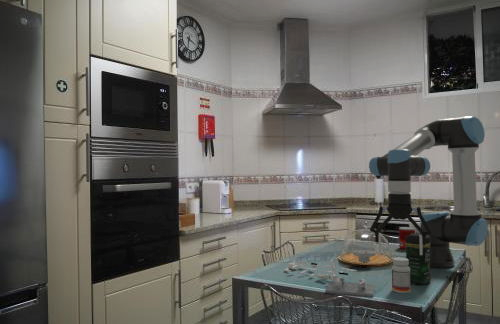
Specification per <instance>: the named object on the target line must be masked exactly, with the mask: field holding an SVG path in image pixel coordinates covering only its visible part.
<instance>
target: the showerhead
mask: <svg viewBox="0 0 500 324" xmlns="http://www.w3.org/2000/svg"><path fill="white" fill-rule="evenodd" d="M352 254H353V256H356V257H358V262H360V263H362V262H363V263H367V264H368V263H370V260H371V259H370V258H372V257H374V256H376V252H375V251H374V250H371V249H363V248H362V249H354V250H353V252H352Z"/></svg>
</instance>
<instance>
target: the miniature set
mask: <svg viewBox="0 0 500 324" xmlns="http://www.w3.org/2000/svg"><path fill="white" fill-rule="evenodd" d="M328 261H329V265H327V264H324V266H323V267H324V268H325V269H327V268H330V270H322V272H324V273H318V274H316V273H311V274H309V278H311V279H312V278H314V277H316V276H317V279H319V280H323V279H324V280H330V281H336V279H337V278H338V275H337V274H336V270H335V269H336V268H337V267H336V265H335V263H334V259H333V258H331V259H329V260H328ZM307 262H308V261H307V260H299V263H297V261H296V260H293V261H291V262H289V263H288V264H287V267H286V268H285V269H283V271H284V272H292V270H296V271H297V270H299V265H300V266H301V267H302V269H305V270H303V271H301V272H299V274H300V275H303V274H305V273H307V270H309V271H318V268H319V267H320V265H318V262H310V267H313V268H310V267H308V265H307ZM343 270H344V271H345V272H344V271H343ZM348 271H353V272H357V271H358V270H356V269H350V268H349V267H348V268H344V267H340V271H339V272H338V274H339V275H343V276H344V275H345V276H348V275H349V273H347V272H348ZM325 272H326V273H327V274H325ZM328 273H331V274H330V275H329V274H328ZM329 276H330V277H329Z"/></svg>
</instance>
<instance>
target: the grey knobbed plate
mask: <svg viewBox="0 0 500 324" xmlns="http://www.w3.org/2000/svg"><path fill="white" fill-rule="evenodd" d="M375 289H376V284H375V283H367V281H366V279H364V278H362V277H361V278H359V281H358V282H348V281H345V278H344V277H343V276H339V277H338V276H337V278H336V279H335V281H334V280H330V282H329V283H328V285H327V287H326V288H325V293H326V294H336V295H347V296H357V297H368V298H374V297H375Z"/></svg>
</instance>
